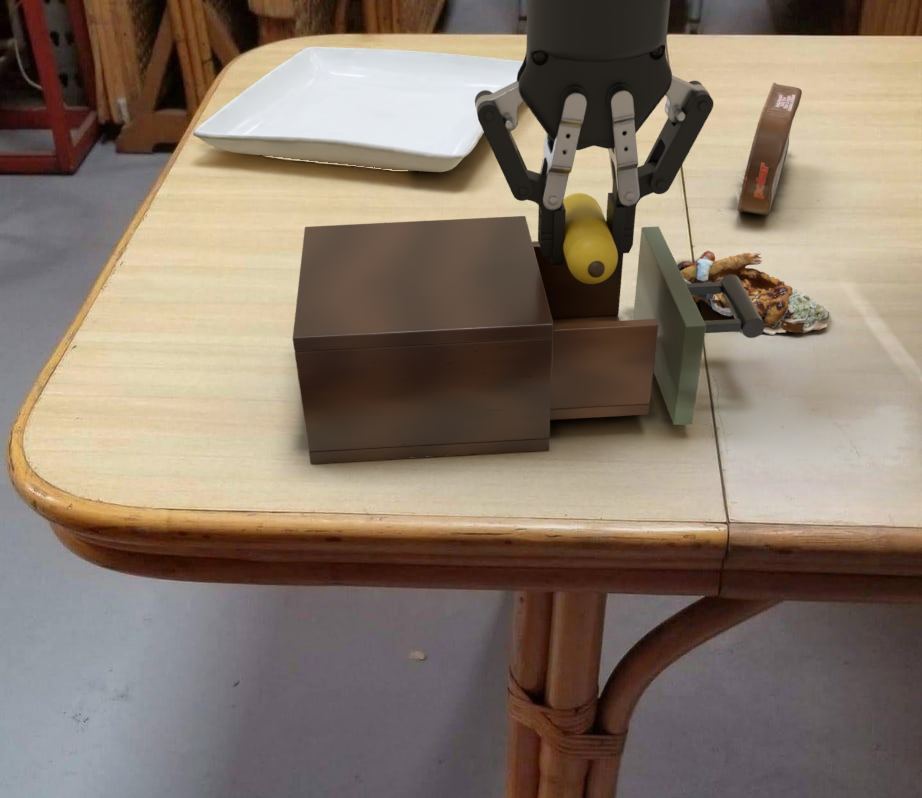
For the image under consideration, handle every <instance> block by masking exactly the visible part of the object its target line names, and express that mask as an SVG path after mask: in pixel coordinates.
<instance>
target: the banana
mask: <svg viewBox="0 0 922 798" xmlns="http://www.w3.org/2000/svg"><path fill="white" fill-rule="evenodd" d="M563 203H564V207H565V210H566V216H565V240H564V245H563V251H564V255H565V258H566V261H567V265H568V268H569V270H570V272H571V273H572V275H573V276H574V277H575V278H576V279H578V280H579V281H581V282H583V283H586V284H597V283H600V282H603V281H604V280H606V279H607V278H609V277H610V276H611V275H612V273H613V272H614V270H615V268H616V266H617V262H618V252H617V248H616V245H615V243H614V240H613V238H612V235H611V233H610V230H609V228H608V225H607V222H606V218H605V215H604V212H603V210H602V207H601V205H600V203H599V202H598V201H597V199H596V198H594V197H593V196H592V195H589V194H587V193H583V192H575V193H571V194H569V195H567V196H566V197H564V200H563Z"/></svg>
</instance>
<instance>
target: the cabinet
mask: <svg viewBox="0 0 922 798" xmlns="http://www.w3.org/2000/svg"><path fill="white" fill-rule="evenodd" d="M302 240H303V241H302V249H301V258H300V267H299V276H298V285H297V294H296V304H295V313H294V322H293V331H292V344H293V350H294V359H295V365H296V366H295V367H296V372H297V380H298V386H299V393H300V394H299V395H300V401H301V407H302V416H303V420H304V421H303V422H304V429H305V434H306V442H307V448H308V449H307V450H308V456H309V463H310V464H311V465H317V464H318V465H319V464H332V463H335V464H336V463H352V462H367V461H369V460H371V461H385V460H386V461H388V460H405V459H404V458H406V459H411V458H410V457H424V458H427V457H426V456H441V457H447V456H446V455H449V456H448V457H451V456H450V455H459V456H472V455H471V454H477V455H492V454H493V453H494V454H503V453H502V452H505V453H504V454H508V453H509V454H510V453H527V452H544V451H546V450H547V451H550V440H551V439H550V435H551V420H550V412H551V385H552V358H553V331H554V324H553V320H552V316H551V313H550V309H549V305H548V301H547V297H546V293H545V290H544V286H543V282H542V278H541V274H540V270H539V266H538V263H537V259H536V255H535V251H534V247H533V243H532V242H533V240H532V237H531V232H530V229H529V225H528V220H527V217H526V215H517V216H497V217H495V216H494V217H474V218H457V219H455V218H454V219H436V220H435V219H433V220H416V221H415V220H414V221H413V220H411V221H395V222H392V221H391V222H373V223H355V224H353V223H352V224H336V225H335V224H334V225H314V226H304V231H303V238H302ZM547 451H546V452H547ZM494 454H493V455H494Z"/></svg>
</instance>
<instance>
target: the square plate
mask: <svg viewBox="0 0 922 798" xmlns="http://www.w3.org/2000/svg"><path fill="white" fill-rule="evenodd" d="M523 61H524V60H514V59H504V58H496V57H489V56H487V57H486V56H477V55H469V54H458V53H448V52H436V51H423V50H409V49H408V50H407V49H387V48H369V47H368V48H364V47H362V48H361V47H336V46H335V47H332V46H331V47H330V46H329V47H328V46H306V47H303V48H302V49H300V50H299V51H298V52H296V53H294V54H293V55H292V56H290V57H289V58H288V59H286V60H285V61H283V62H282V63H280V64H279V65H277V66H276V67H275V68H273V69H272V70H270V71H268V72H267V73H266V74H265V75H263V76H262V77H261V78H259V79H258V80H256V81H255V82H254V83H252V84H251V85H249V86H248V87H247V88H245V89H244V90H243V91H242V92H240V93H239V94H238V95H237V96H235V97H233V99H231V100H230V101H228V102H227V103H226V104H224V105H223V106H222V107H220V108H219V109H218V110H217V111H216V112H214V113H213V114H212V115H210V116H209V117H208V118H207V119H205V120H204V121H202V123H200V125H198V126H197V127H196V128H194V129H193V131H192V136H194V137H196V138H198V139H199V140H201V141H202V142H204V143H206V144H208V145H209V146H211V147H212V148H216V149H219V150H223V151H225V152H230V153H236V154H244V155H255V156H260V155H263V156H273V157H283V158H291V159H300V160H309V161H318V162H328V163H338V164H348V165H356V166H364V167H373V168H374V167H375V168H381V169H392V170H408V171H419V172H428V173H429V172H430V173H444V172H448V171H451V170H453V169H454V168H456V167H457V166H458V165H459V164H460V163H461V162H462V161H463V159H464V158H465V157H467V156H468V155H470V153H471V152H472V151H473V150H474V149H475V147H476V146H477V144H478V143H479V141H480V139H481V138H482V136H483V134H485V133H484V131H483V129H482V127H481V124H480V122H479V120H478V116H477V111H476V106H475V97H476V95H477V94H478V93H479V92H481V91H483V90H488V91H490V92H492V93H494V92H496V91H498V90H500V89H502V88H504V87H506V86H508V85H510V84H512V83H514V82H516V81H517V74H518V71H519V69H520V67H521V66H522V64H523ZM263 156H262V157H263Z"/></svg>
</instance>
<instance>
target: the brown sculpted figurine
mask: <svg viewBox="0 0 922 798" xmlns="http://www.w3.org/2000/svg"><path fill="white" fill-rule="evenodd" d="M759 255H761V252H755V253H754V252H753V253H751V252H743V253H739V254H736V255H729V256H728V257H724V258H721V259H717V260H716V256H715V253H713V252H712V251H710V250H706V251H704V252H703V253H702V254H701V256H699V258H697V259H696V260H695V261H694V262H692V261H689V260H685V261H684V260H682V261H680V262H678V264H677V266H678V268H679V270H680V272H681V274H682V276H683V279H684V281H685V283H686V284H692V283H712V282H720V281H721V279H722V278H723V277H725V276H727V275H736V276H737V277H738V278H739V279H740V281H741V283H742V285H743V286H744V288H745V290H746V292H747V293H748V295H749V297H750V299H751V301H752V302H753V304H754V306H755V308H756V309H757V311H758V313H759V315H760V317H761V318H762V320H763V322H764V325H765V326H764V330H763V332H762V333H765V334H767V335H770V336H775V334H776V333H778V334H779V333H780V334H781V333H786V332H790V333H801V335H804V334H807V333H809V332H811V331H812V330H815V331H817V330H818V331H821V330H822V329H825V328H828V324H829V320H830V319H829V318H830V311H828V310H827V309H826V308H825V306H824V305H823V304H821V305H820V304H819V303H817V302H816V301H815V300H814V298H811V297H810V296H808V294H806V293H804V291H800V292H798V290H797V289H794V288H793V287H792V286H790V285H787V284H785V281H783V280H781V279H779V278H775V277H774V276H770V274H768V273H766V272H764V271H760V270H758V269H756V268H754V267H752V268H751V267H747V266H755V265H760V264H761V263H762V262H763V257H762V256H759ZM793 289H794V290H793ZM692 297H693V300H694V302H695V304H696V303H697V304H699V303H700V302H701V301H702V302H703V301H704V303H706V304H708V307H711V308H712V310H713V311H715V312H717V313H719V314H720V315H723V316H727V317H732V316H733V314H732V312H731V310H730V308H729V306H728V304H727V302H726V300H725V298H724V297H723V295H722V293H721V294H705V295H692Z"/></svg>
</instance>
